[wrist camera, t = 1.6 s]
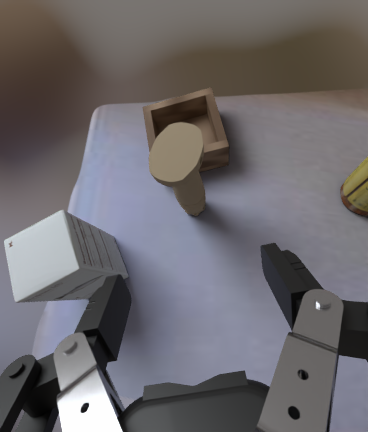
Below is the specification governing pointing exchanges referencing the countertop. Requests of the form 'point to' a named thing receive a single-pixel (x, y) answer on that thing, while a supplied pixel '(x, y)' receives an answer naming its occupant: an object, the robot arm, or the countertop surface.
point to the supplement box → (61, 259)
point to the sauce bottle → (356, 190)
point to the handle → (180, 164)
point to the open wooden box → (193, 114)
